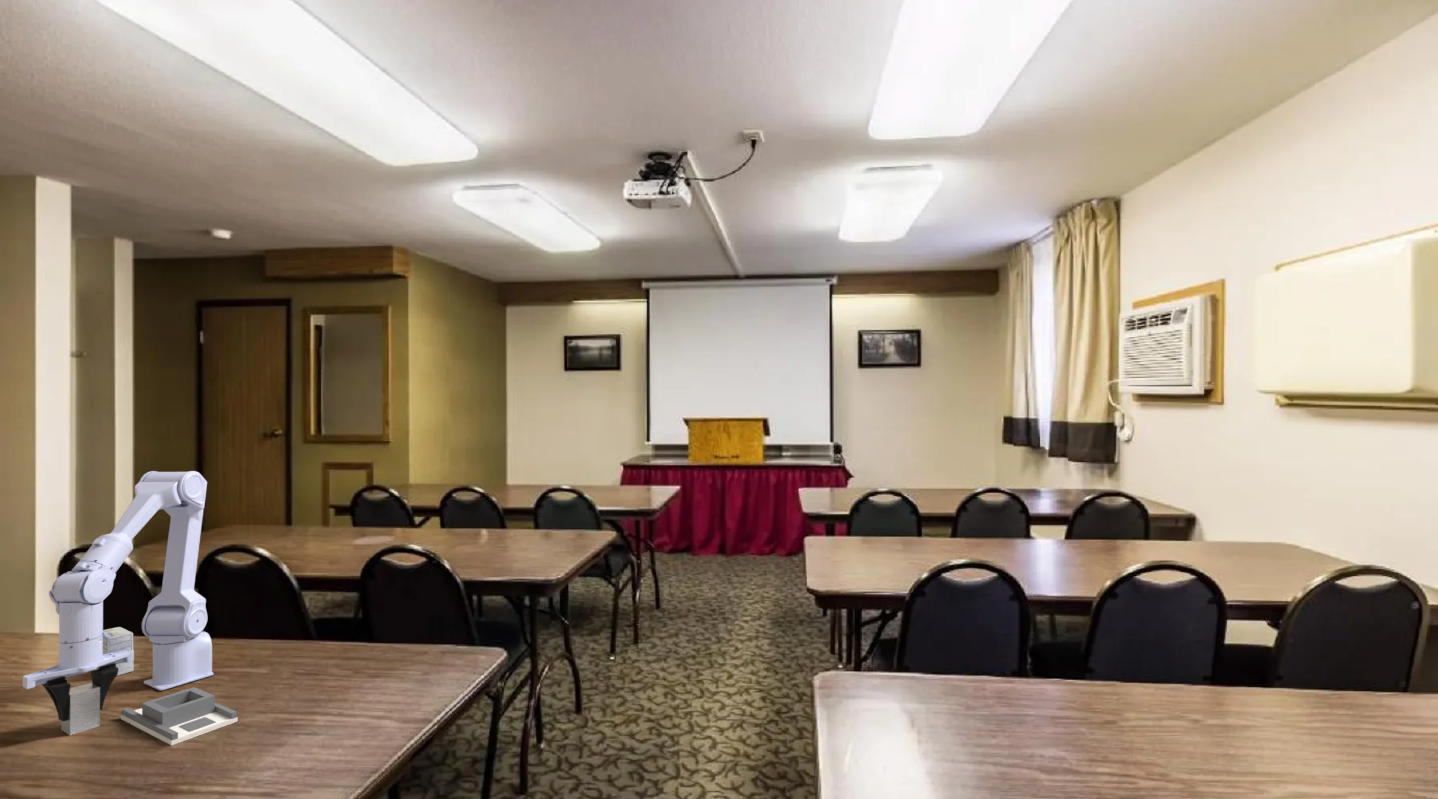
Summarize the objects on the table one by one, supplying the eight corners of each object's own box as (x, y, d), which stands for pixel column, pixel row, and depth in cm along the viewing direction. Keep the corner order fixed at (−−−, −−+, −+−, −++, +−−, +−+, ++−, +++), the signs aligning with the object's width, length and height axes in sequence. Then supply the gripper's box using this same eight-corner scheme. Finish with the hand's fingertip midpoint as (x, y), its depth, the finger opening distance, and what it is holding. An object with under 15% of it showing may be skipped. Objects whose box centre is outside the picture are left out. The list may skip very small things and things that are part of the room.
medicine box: (134, 672, 146) (134, 632, 146) (107, 679, 142) (107, 638, 142) (120, 664, 150) (121, 625, 150) (94, 671, 146) (94, 631, 146)
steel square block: (90, 721, 123) (90, 682, 123) (99, 726, 121) (100, 686, 121) (61, 730, 119) (61, 690, 119) (70, 735, 117) (70, 695, 117)
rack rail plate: (185, 698, 132) (185, 679, 132) (237, 721, 122) (237, 700, 122) (120, 719, 123) (120, 698, 123) (171, 745, 114) (171, 722, 114)
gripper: (33, 655, 112) (32, 736, 112) (141, 629, 125) (140, 703, 124) (18, 647, 115) (17, 727, 115) (125, 624, 128) (124, 695, 128)
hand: (80, 714), depth 120 cm, fingers closed on steel square block, 4 cm apart
